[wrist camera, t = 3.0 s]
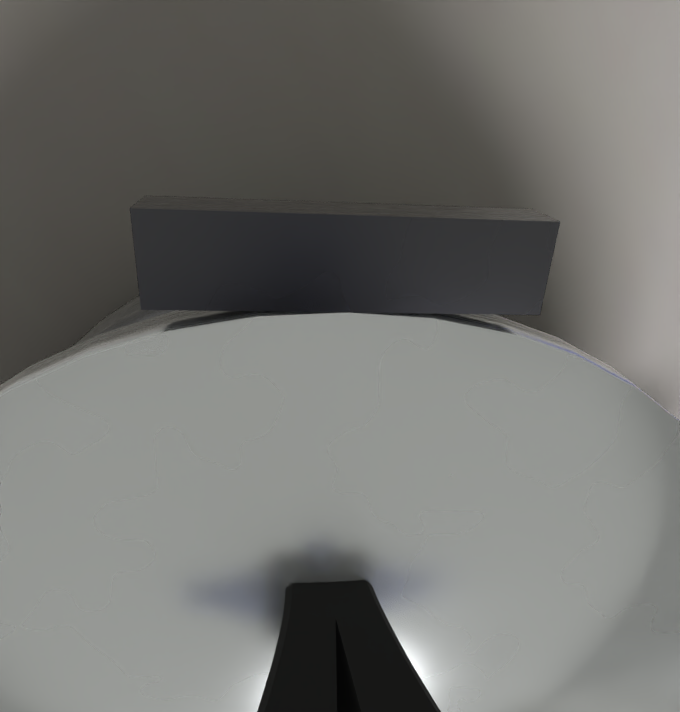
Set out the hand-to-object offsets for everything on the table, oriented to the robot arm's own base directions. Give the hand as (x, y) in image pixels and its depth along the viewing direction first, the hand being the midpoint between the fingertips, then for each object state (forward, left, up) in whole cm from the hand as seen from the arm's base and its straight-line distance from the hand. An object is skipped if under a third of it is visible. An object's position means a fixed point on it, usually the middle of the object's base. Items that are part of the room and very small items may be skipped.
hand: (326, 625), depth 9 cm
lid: (-2, 0, -1) cm, 2 cm away
